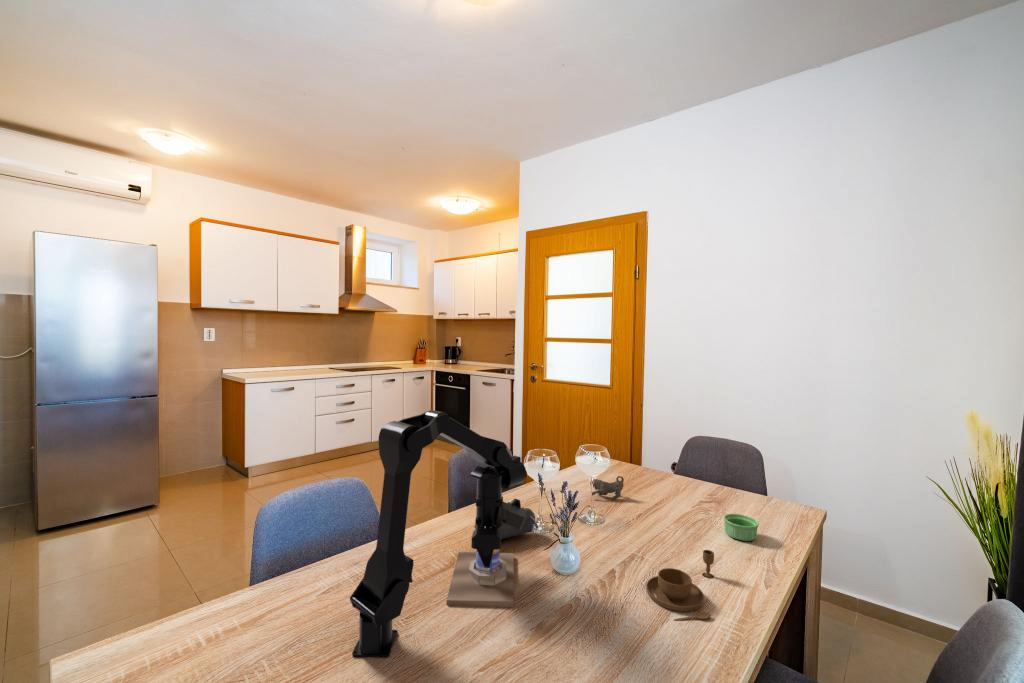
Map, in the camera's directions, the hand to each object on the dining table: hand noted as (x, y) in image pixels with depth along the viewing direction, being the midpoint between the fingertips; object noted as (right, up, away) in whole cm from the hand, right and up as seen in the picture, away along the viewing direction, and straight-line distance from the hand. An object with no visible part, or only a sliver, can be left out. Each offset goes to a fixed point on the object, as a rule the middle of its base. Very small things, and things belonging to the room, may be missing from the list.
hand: (487, 560), depth 101 cm
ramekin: (+72, -6, +26) cm, 76 cm away
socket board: (-1, -4, 0) cm, 4 cm away
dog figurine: (+39, -4, +53) cm, 66 cm away
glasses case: (+4, -4, +20) cm, 21 cm away
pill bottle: (0, -3, 0) cm, 3 cm away
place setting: (+45, -6, -4) cm, 46 cm away
